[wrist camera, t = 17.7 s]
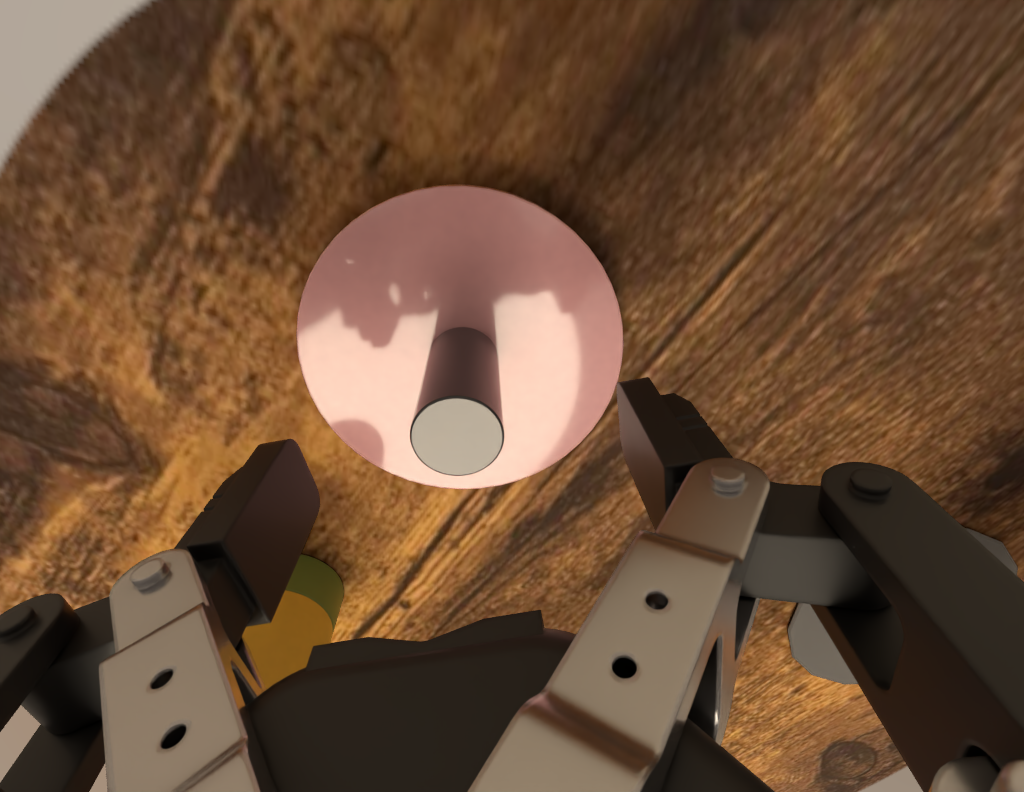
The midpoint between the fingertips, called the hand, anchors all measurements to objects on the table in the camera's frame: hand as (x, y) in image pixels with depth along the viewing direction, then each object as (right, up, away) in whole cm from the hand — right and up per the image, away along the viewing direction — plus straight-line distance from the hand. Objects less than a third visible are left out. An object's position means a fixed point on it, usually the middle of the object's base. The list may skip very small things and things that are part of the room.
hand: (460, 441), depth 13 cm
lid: (0, +3, +5) cm, 6 cm away
